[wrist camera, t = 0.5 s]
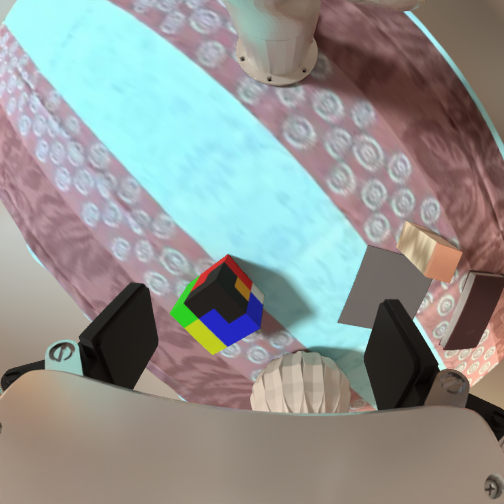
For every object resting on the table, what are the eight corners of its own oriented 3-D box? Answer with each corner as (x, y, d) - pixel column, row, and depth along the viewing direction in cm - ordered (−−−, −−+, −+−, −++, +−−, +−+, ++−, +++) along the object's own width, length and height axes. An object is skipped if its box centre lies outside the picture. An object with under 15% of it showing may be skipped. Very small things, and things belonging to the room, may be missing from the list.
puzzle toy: (264, 295, 50) (260, 328, 40) (223, 321, 53) (212, 355, 43) (228, 253, 48) (215, 280, 38) (188, 284, 50) (169, 313, 41)
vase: (350, 332, 51) (384, 467, 23) (340, 395, 58) (353, 505, 30) (249, 337, 53) (224, 475, 25) (257, 399, 60) (242, 510, 32)
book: (501, 272, 43) (509, 278, 40) (471, 341, 50) (477, 349, 47) (468, 268, 44) (476, 274, 41) (437, 343, 51) (443, 351, 48)
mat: (367, 245, 44) (368, 245, 44) (437, 265, 44) (437, 265, 44) (337, 321, 50) (337, 322, 50) (404, 333, 50) (404, 333, 50)
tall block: (405, 220, 42) (439, 243, 31) (427, 228, 42) (462, 252, 31) (396, 247, 44) (425, 276, 33) (417, 253, 44) (449, 283, 33)
